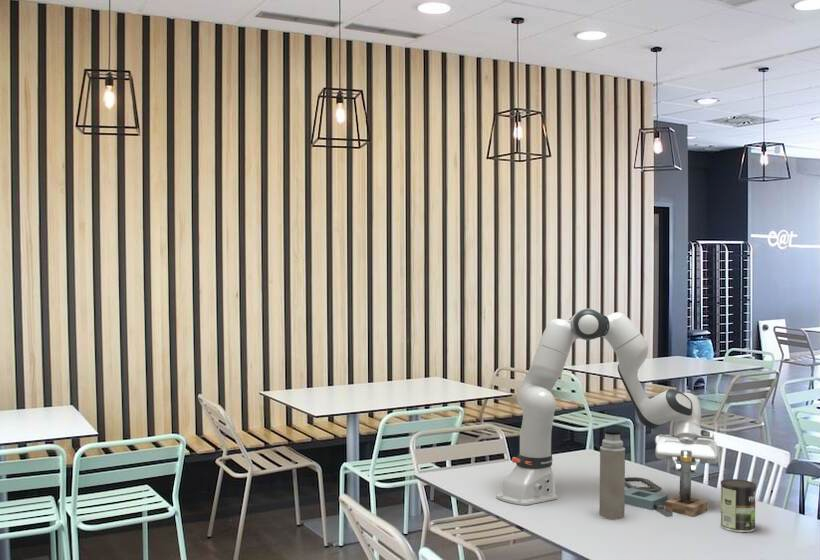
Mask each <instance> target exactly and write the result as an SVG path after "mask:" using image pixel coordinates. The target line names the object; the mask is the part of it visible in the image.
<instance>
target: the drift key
mask: <svg viewBox="0 0 820 560" xmlns="http://www.w3.org/2000/svg"><path fill="white" fill-rule="evenodd" d="M653 511H656V512H658V513H660V514H661V515H664V516H665V517H666V518H667V517H668V518H669V517H673V512H671V511H669V510H667V509H665V505H664V506H663V505H661V504H654V510H653Z"/></svg>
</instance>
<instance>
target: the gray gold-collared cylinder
mask: <svg viewBox="0 0 820 560" xmlns="http://www.w3.org/2000/svg"><path fill="white" fill-rule="evenodd" d="M679 464H680V471H679V494H678V496H679V498H680V499H682V500H691V498H692V472H691V467H692V466H693V465H692V464H693V462H692V451H690V450H681V455H680V461H679Z"/></svg>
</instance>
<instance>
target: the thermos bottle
mask: <svg viewBox="0 0 820 560" xmlns="http://www.w3.org/2000/svg"><path fill="white" fill-rule="evenodd" d="M604 433H605V434H604V438H603V439H602V442H601V446H600V447H599V516H600V517H601V518H603V517H604V518H603V519H607V520H620V519H624V518H625V505H626V504H625V490H626V489H625V487H626V485H625V478H626V475H625V473H626V448H625V447H624V441H623V440H621V430H618V429H605V431H604Z"/></svg>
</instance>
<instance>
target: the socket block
mask: <svg viewBox="0 0 820 560" xmlns="http://www.w3.org/2000/svg"><path fill="white" fill-rule="evenodd" d="M708 503H709V502H708V501H706V500H702V499H697V498H692V497H691V500H682V499H680V498H679V495H678V496H675V497H673V498H671V499H667V501H665V505H664V508H665V509H667V510H669V511H671V512H672V513H674V514H678V515H683V514H684V516H687V515H688V516H687V517H692V518H694V517H696V516H698V515H701V514H702V513H705V512H708Z"/></svg>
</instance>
